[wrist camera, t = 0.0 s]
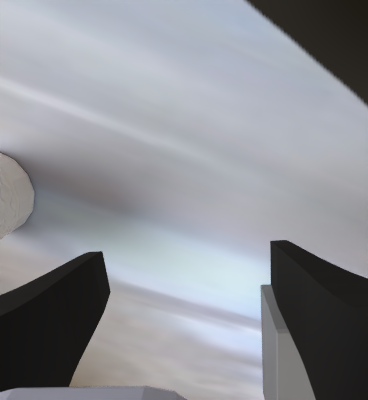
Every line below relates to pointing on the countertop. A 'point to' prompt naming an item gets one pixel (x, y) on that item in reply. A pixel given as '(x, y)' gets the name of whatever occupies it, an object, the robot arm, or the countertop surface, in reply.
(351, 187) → the countertop surface
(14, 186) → the white cup
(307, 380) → the grey long block
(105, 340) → the countertop surface
